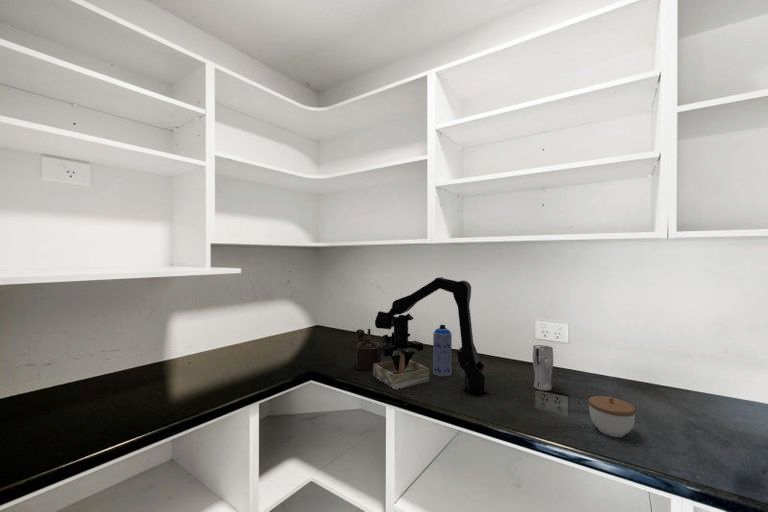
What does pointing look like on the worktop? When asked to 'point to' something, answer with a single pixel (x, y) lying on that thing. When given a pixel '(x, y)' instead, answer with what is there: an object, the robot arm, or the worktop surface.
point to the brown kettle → (366, 351)
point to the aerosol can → (442, 351)
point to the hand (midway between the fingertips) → (400, 370)
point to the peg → (401, 364)
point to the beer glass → (543, 366)
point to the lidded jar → (612, 415)
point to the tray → (410, 377)
